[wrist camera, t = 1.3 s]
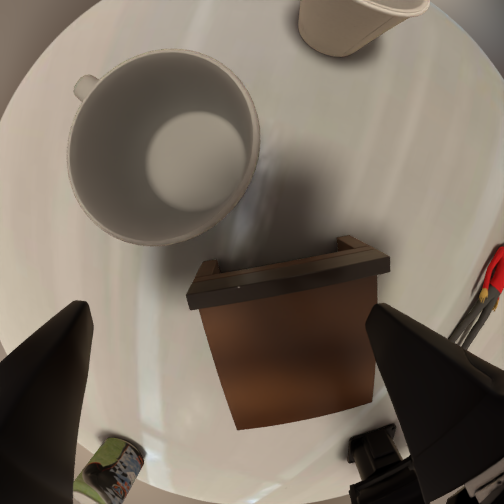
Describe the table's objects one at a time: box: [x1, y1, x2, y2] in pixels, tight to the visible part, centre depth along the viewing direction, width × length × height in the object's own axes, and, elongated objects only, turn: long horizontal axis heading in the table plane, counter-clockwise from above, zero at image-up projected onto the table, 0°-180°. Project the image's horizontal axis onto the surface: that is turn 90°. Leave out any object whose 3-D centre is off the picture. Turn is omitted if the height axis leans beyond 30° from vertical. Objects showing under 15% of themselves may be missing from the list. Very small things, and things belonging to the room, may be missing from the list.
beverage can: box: [73, 438, 144, 504], centre depth 22 cm, size 6×7×12 cm
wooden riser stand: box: [186, 235, 390, 430], centre depth 20 cm, size 14×12×7 cm
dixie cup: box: [298, 0, 430, 57], centre depth 13 cm, size 8×8×10 cm
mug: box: [67, 49, 260, 246], centre depth 15 cm, size 12×8×11 cm
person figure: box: [449, 246, 504, 350], centre depth 22 cm, size 5×4×18 cm
